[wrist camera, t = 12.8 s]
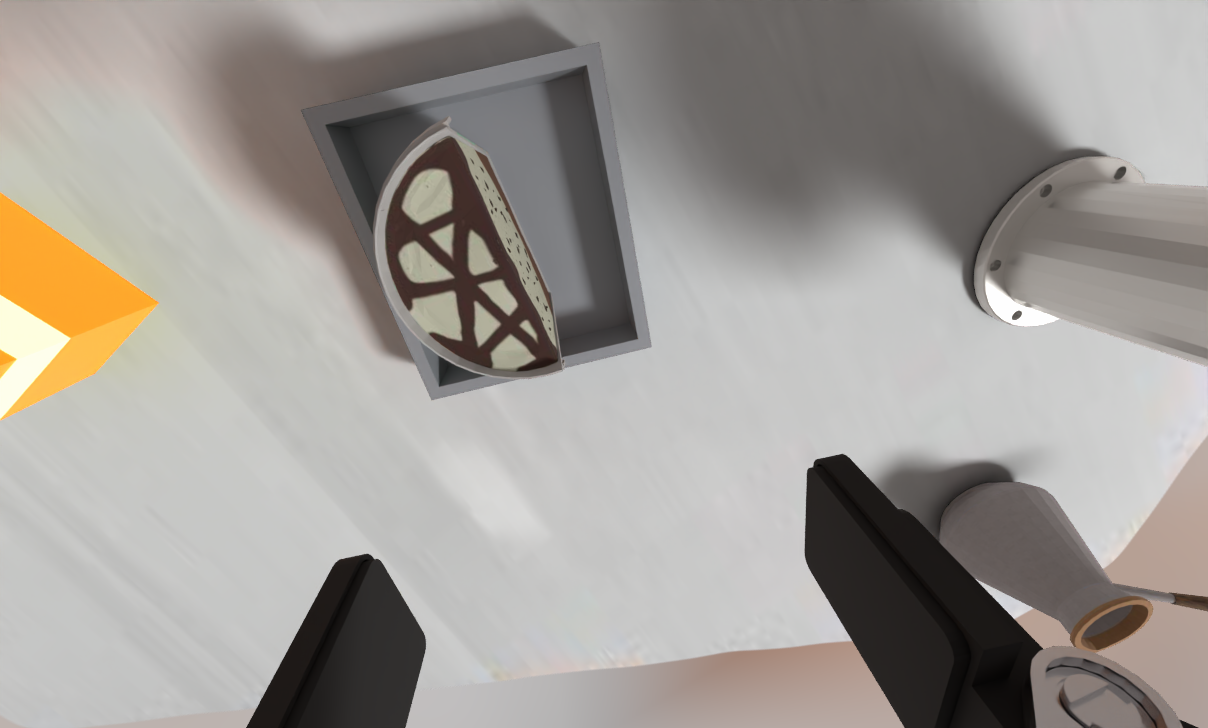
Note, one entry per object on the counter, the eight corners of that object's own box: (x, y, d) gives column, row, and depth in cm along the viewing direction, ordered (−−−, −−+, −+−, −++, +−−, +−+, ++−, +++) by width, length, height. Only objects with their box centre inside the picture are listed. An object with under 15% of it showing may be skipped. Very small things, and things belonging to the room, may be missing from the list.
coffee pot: (911, 556, 49) (1048, 708, 36) (940, 474, 44) (1113, 616, 31) (1083, 530, 51) (1276, 666, 38) (1130, 449, 46) (1372, 573, 33)
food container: (379, 167, 26) (291, 175, 17) (475, 125, 25) (438, 111, 16) (479, 345, 31) (454, 424, 22) (560, 313, 31) (567, 379, 22)
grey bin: (591, 57, 26) (598, 42, 22) (640, 325, 33) (651, 347, 30) (335, 115, 25) (300, 110, 22) (443, 372, 33) (431, 400, 29)
